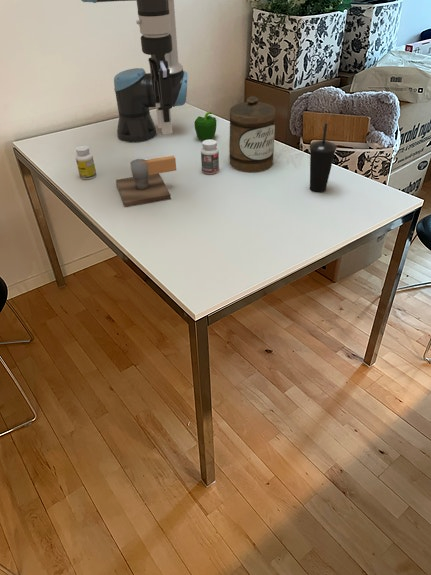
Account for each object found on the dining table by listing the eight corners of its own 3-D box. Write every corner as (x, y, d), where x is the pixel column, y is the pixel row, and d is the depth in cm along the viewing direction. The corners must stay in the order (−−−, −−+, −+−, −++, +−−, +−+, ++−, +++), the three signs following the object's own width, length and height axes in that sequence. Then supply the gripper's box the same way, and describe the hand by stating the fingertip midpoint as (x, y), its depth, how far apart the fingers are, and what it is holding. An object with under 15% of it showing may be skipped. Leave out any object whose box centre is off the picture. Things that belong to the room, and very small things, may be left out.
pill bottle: (217, 175, 149) (216, 146, 142) (200, 174, 150) (198, 145, 143) (220, 168, 153) (219, 139, 147) (204, 167, 154) (202, 138, 148)
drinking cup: (314, 181, 144) (322, 117, 131) (335, 188, 139) (345, 123, 127) (300, 189, 140) (306, 124, 127) (320, 197, 135) (329, 131, 123)
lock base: (116, 183, 146) (113, 168, 142) (159, 176, 149) (157, 161, 146) (124, 207, 134) (121, 190, 131) (170, 199, 137) (169, 182, 134)
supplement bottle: (76, 176, 151) (70, 148, 144) (90, 171, 154) (84, 143, 147) (86, 181, 148) (79, 152, 141) (100, 175, 151) (94, 147, 144)
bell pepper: (197, 144, 169) (196, 117, 163) (193, 136, 175) (191, 110, 169) (219, 142, 170) (219, 115, 164) (214, 134, 177) (213, 107, 170)
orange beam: (133, 179, 136) (132, 167, 133) (131, 172, 139) (129, 160, 137) (177, 172, 139) (176, 159, 136) (173, 165, 142) (172, 153, 140)
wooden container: (246, 176, 148) (247, 107, 134) (221, 161, 157) (219, 95, 143) (281, 165, 154) (286, 97, 140) (255, 150, 163) (257, 86, 149)
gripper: (134, 29, 116) (145, 121, 130) (147, 42, 103) (158, 143, 118) (162, 26, 117) (170, 118, 132) (179, 39, 104) (186, 139, 119)
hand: (165, 129), depth 125 cm, fingers open, 4 cm apart
